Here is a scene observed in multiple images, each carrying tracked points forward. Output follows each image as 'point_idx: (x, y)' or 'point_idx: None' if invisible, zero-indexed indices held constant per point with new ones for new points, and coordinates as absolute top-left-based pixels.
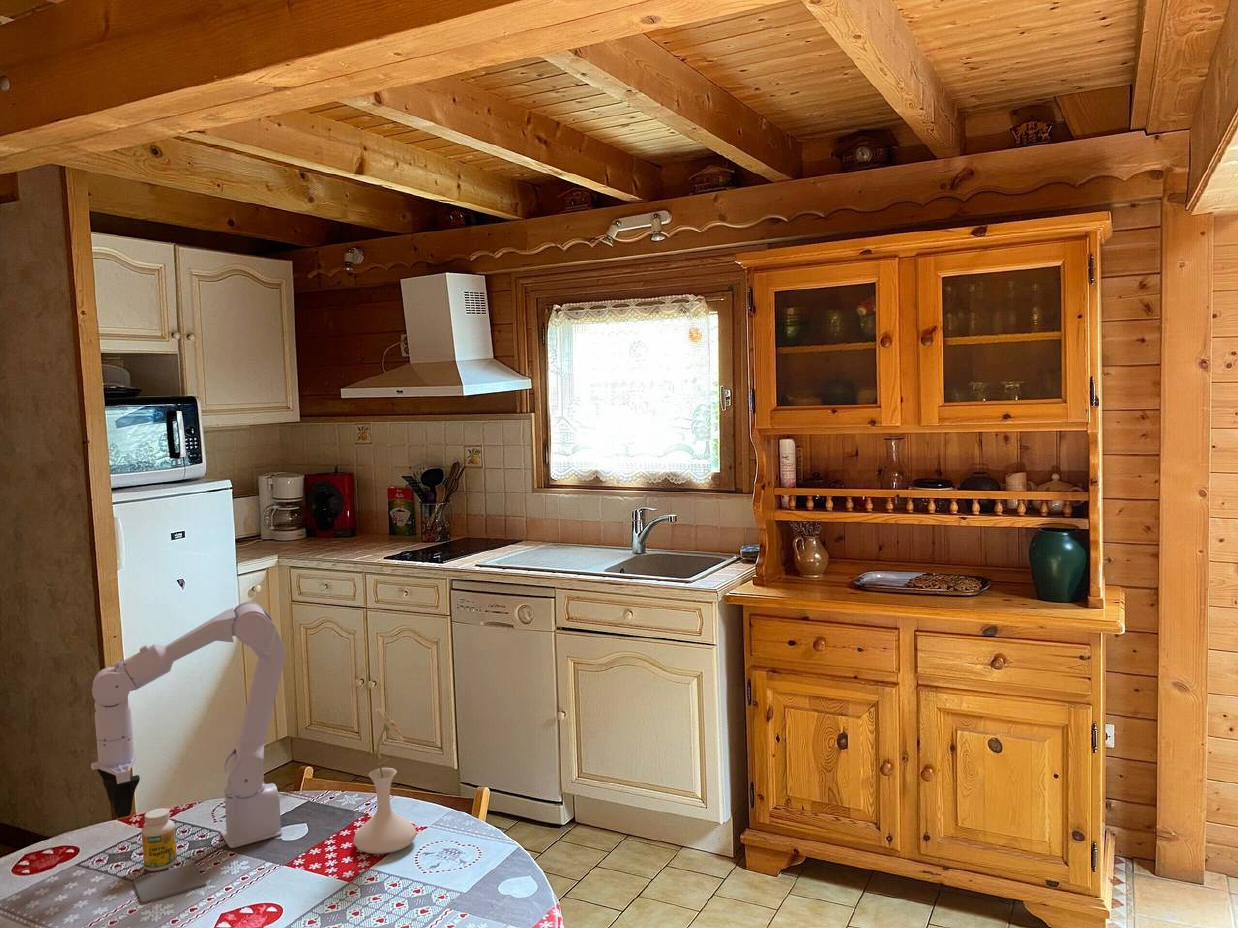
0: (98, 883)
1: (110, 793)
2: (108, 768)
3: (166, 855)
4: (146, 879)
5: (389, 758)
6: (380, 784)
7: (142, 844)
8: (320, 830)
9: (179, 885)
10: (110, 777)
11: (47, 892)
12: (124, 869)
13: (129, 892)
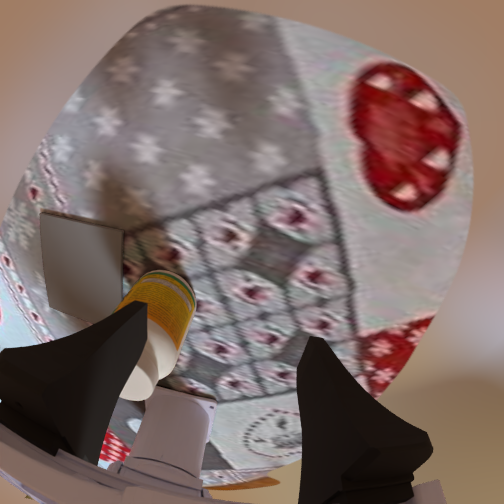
0: (169, 173)
1: (34, 347)
2: (15, 477)
3: None
4: (107, 251)
5: (29, 498)
6: None
7: (151, 297)
8: None
9: (59, 279)
10: (328, 431)
11: (217, 73)
12: (197, 239)
13: (89, 209)
